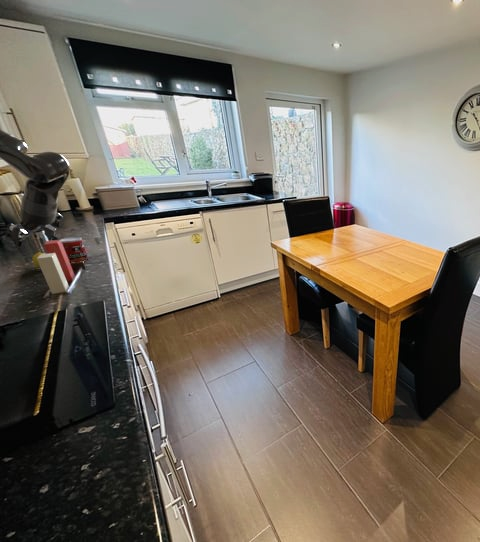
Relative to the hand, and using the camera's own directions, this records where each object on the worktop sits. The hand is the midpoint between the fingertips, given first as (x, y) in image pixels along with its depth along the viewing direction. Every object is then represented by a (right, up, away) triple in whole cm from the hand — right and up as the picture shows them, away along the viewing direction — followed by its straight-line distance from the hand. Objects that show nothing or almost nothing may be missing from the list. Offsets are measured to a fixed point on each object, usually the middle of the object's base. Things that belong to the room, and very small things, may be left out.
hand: (34, 240), depth 97 cm
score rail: (-7, -16, +18) cm, 25 cm away
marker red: (-8, -14, +19) cm, 25 cm away
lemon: (-30, -10, +31) cm, 44 cm away
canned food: (-26, -6, +41) cm, 49 cm away
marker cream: (-1, -18, +10) cm, 20 cm away
